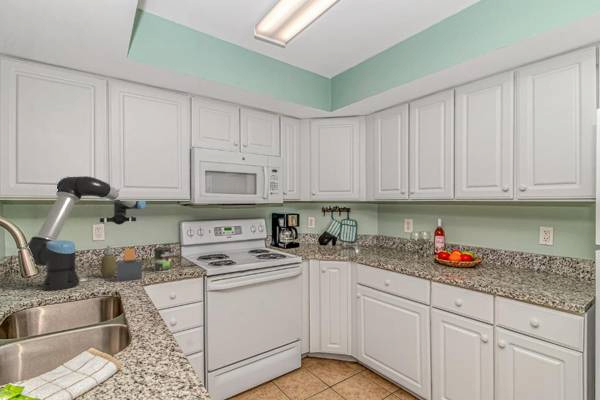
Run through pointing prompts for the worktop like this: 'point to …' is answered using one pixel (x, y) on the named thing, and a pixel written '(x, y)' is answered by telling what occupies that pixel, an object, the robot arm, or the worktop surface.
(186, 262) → the worktop surface
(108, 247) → the squeeze bottle
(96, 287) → the worktop surface
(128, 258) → the breaker handle
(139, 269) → the switch box
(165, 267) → the coffee can
